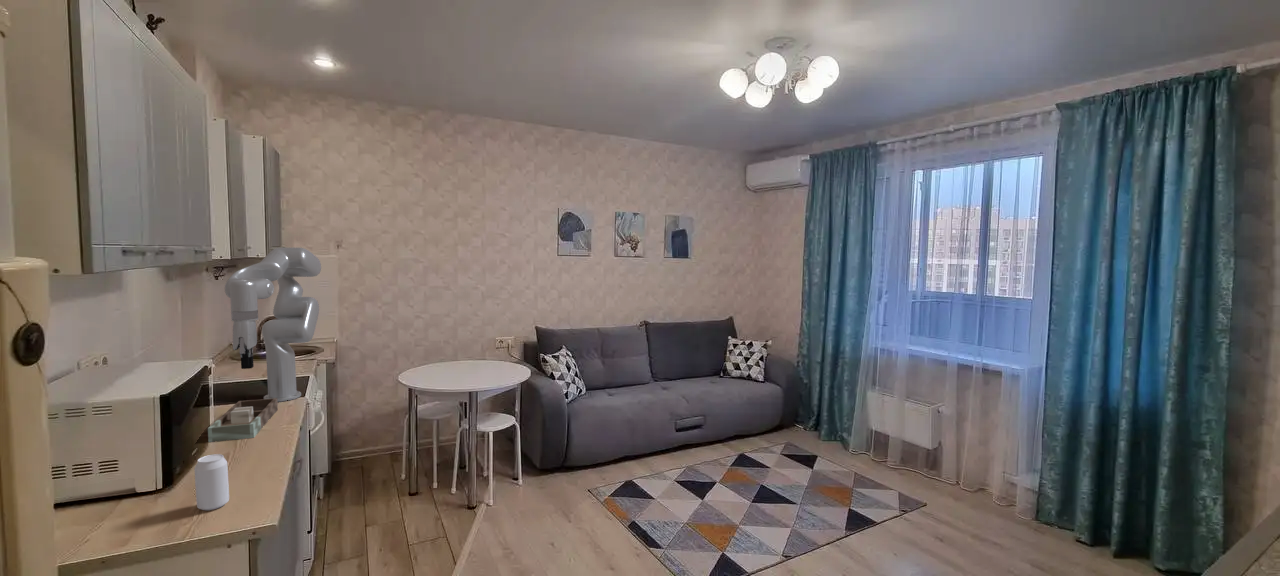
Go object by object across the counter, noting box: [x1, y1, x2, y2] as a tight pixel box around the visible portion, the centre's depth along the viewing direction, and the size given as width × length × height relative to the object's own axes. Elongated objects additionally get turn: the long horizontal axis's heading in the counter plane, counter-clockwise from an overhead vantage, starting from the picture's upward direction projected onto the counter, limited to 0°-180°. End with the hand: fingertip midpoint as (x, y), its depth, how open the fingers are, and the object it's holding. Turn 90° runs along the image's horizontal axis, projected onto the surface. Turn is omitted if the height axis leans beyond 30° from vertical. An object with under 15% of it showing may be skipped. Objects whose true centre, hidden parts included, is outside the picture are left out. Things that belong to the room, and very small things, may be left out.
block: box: [231, 406, 254, 424], centre depth 184 cm, size 5×5×4 cm
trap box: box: [207, 398, 279, 443], centre depth 187 cm, size 30×12×4 cm, turn 21°
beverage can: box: [193, 453, 230, 511], centre depth 131 cm, size 6×6×12 cm
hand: (247, 368), depth 190 cm, fingers closed
